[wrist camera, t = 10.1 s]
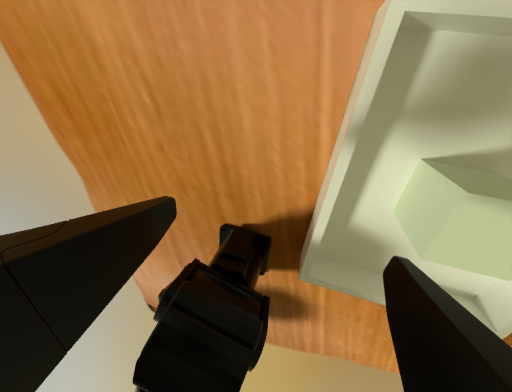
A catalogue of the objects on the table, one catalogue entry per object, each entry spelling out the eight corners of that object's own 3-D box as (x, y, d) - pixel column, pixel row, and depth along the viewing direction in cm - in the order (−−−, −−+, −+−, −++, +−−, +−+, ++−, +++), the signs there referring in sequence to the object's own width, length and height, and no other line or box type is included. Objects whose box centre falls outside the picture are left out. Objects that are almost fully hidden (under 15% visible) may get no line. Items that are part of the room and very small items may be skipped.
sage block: (454, 224, 18) (510, 281, 12) (392, 211, 18) (420, 259, 13) (494, 171, 15) (585, 215, 10) (420, 158, 16) (468, 192, 11)
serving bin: (471, 300, 21) (501, 340, 18) (300, 252, 24) (298, 279, 21) (749, 39, 10) (958, 16, 7) (375, 13, 13) (395, -12, 10)
